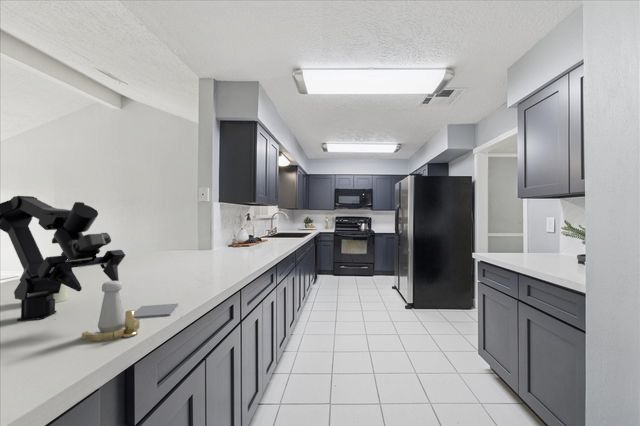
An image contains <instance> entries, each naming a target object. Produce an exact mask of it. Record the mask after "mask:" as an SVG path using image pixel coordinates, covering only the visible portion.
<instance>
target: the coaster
mask: <svg viewBox="0 0 640 426" xmlns="http://www.w3.org/2000/svg"><path fill="white" fill-rule="evenodd" d="M178 306H179V302H177V303H166V304H165V303H164V304H162V303H161V304H151V305H141V306H140V307H139V308H137V310H134V318H136V319H146V318H147V319H149V318H157V317H158V318H159V317H160V318H161V317H170V316H171V315H172V314H171V313H174V311H175V310H176V309H175V308H178Z"/></svg>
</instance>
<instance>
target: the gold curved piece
mask: <svg viewBox="0 0 640 426" xmlns="http://www.w3.org/2000/svg"><path fill="white" fill-rule="evenodd" d="M134 312H135V310H133V309H130V310H126V311H125V314H124V316H125V323H124V325H125V327H123V328H122V329H121V330H117V331H113V332H106V333H101V332H89V331H83V332H81V340H83V341H84V342H91V343H92V342H106V341H111V340H116V339H119V338H123V339H128V338H132V337H135V336H137V335H138V330H139V329H140V320H139V319H140V318H134Z"/></svg>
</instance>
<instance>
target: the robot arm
mask: <svg viewBox="0 0 640 426" xmlns="http://www.w3.org/2000/svg"><path fill="white" fill-rule="evenodd" d="M98 215H99V212H98V211H97V209H95V208H93V207H92V206H90V205H87V204H85V203H84V202H83V201H82V202H81V201H75V202H74V204H73V206H72V208H71V209H65V208H58V207H57V208H56V207H54V206H52V205H50V204H48V203H46V202H44V201H41V200H40V199H38V198H37V197H36V196H32V195H31V196H29V195H16V196H15V195H14V196H13V197H11V198H10V199H9V200H6V201H3V202H0V230H1V231H3V232H5V233H6V234H7V235H8V236H9V237H8V238H9V239H10V241H11V244H12V246H13V249H14V250H15V253H16V256H17V258H18V259H19V262H20V264H21V266H22V268H23V272H22V274H21V276H20V279H19V283H18V285H17V287H16V288H15V289H14V291H13V294H14V299H15V300H18V301H19V300H20V303H21V305H20V316H19V317H18V318H16V321H30V320H31V321H32V320H43V319H45V318H48V317H49V316H51V315H54V314H56V313H57V310H56V303H55V299H53V294H57V293H59V291H60V287H61V284H64V285H66V286H68V288H70V289H72V290H75V291H77V292H80V291H82V289H83V287H82V285H81V283H80V282H79V280H78V278H77V277H76V274H75V273H74V271H73V269H74V268H84V267H92V266H100V267H101V269H103V270H102V272H103V273H104V274H105V275H106V276H107V277H108V278H109V279H110V281H120V280H119V279H120V278H119V272H118V271H119V269H118V266H120V264H121V263H122V261H123V260H124V258H125V257H126V254H125V252H124V251H123V250H122V249H114V250H113V249H112V250H107V251H106V252H105V254H104V255H103V256H97V254H100V252H101V250H100V249H101V248H103V247H104V246H107V245H108V244H110V243H112V237H111V236H110V234H109V233H108V232H100V233H88V234H83V233H85V232H87V231H89V229H90V228H91V226H92V225H93V224H94V222H95V220H96V219H97V217H98ZM33 218H35V219H37V220H38V225H39V226H40V227H41V228H42V229H44V230H46V231H55V232H54V233H53V238H52V239H51V244H58V245H59V247H60V249H61V250H62V252H61V254H60V255H55V256H46V257H45V258H44V257H43V255H42V254H43V253H41V251H40V248H39V246H38V244H37V242H36V240H35V238H34V235H33V233H32V231H31V229H30V227H29V225H30V224H31V221H32V220H33Z"/></svg>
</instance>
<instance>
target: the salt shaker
mask: <svg viewBox="0 0 640 426" xmlns="http://www.w3.org/2000/svg"><path fill="white" fill-rule="evenodd" d="M122 287H123V283H122V282H121V281H120V280H119V281H112V280H110V281H106V282H104V283H102V286H101V291H102V292H103V293H104V294H103V298H102V304H101V308H100V314H99V317H98V318H99V319H98V323H97V328H98V330H99V333H106V332H113V331H117V330H121V329H124V325H125V312H124V308H123V304H122V299H121V293H120V291H121V290H122Z"/></svg>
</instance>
